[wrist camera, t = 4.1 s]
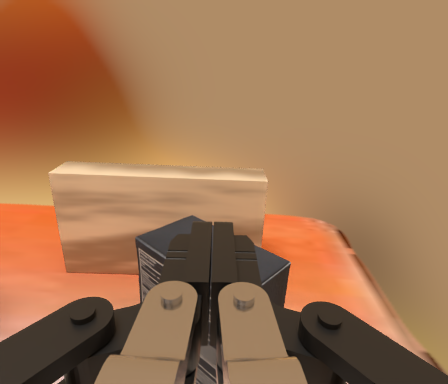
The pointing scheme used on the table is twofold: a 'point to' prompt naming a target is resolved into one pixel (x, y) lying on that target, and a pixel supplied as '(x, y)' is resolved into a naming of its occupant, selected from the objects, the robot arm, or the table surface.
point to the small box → (267, 263)
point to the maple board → (146, 207)
